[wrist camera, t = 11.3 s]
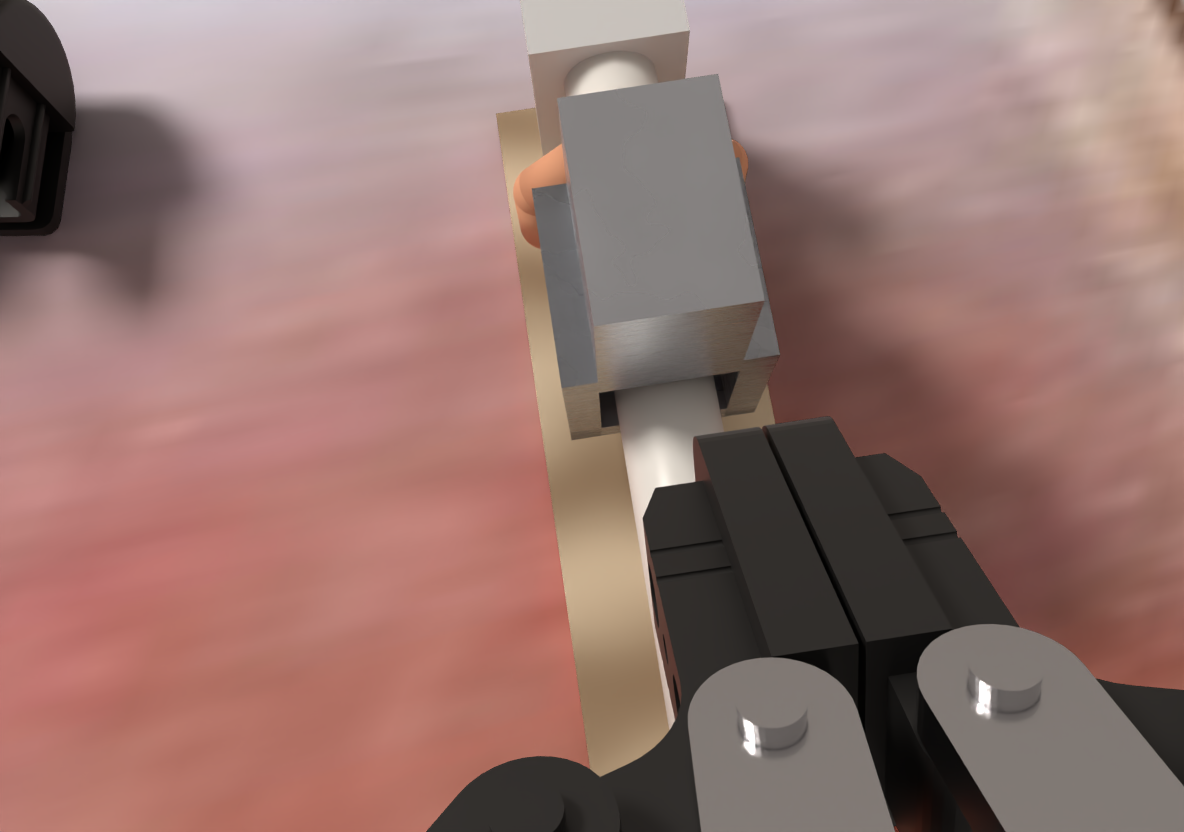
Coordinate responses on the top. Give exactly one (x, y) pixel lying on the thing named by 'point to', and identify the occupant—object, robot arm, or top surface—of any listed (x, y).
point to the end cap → (33, 121)
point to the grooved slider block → (652, 252)
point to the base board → (594, 522)
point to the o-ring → (553, 173)
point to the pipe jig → (559, 69)
